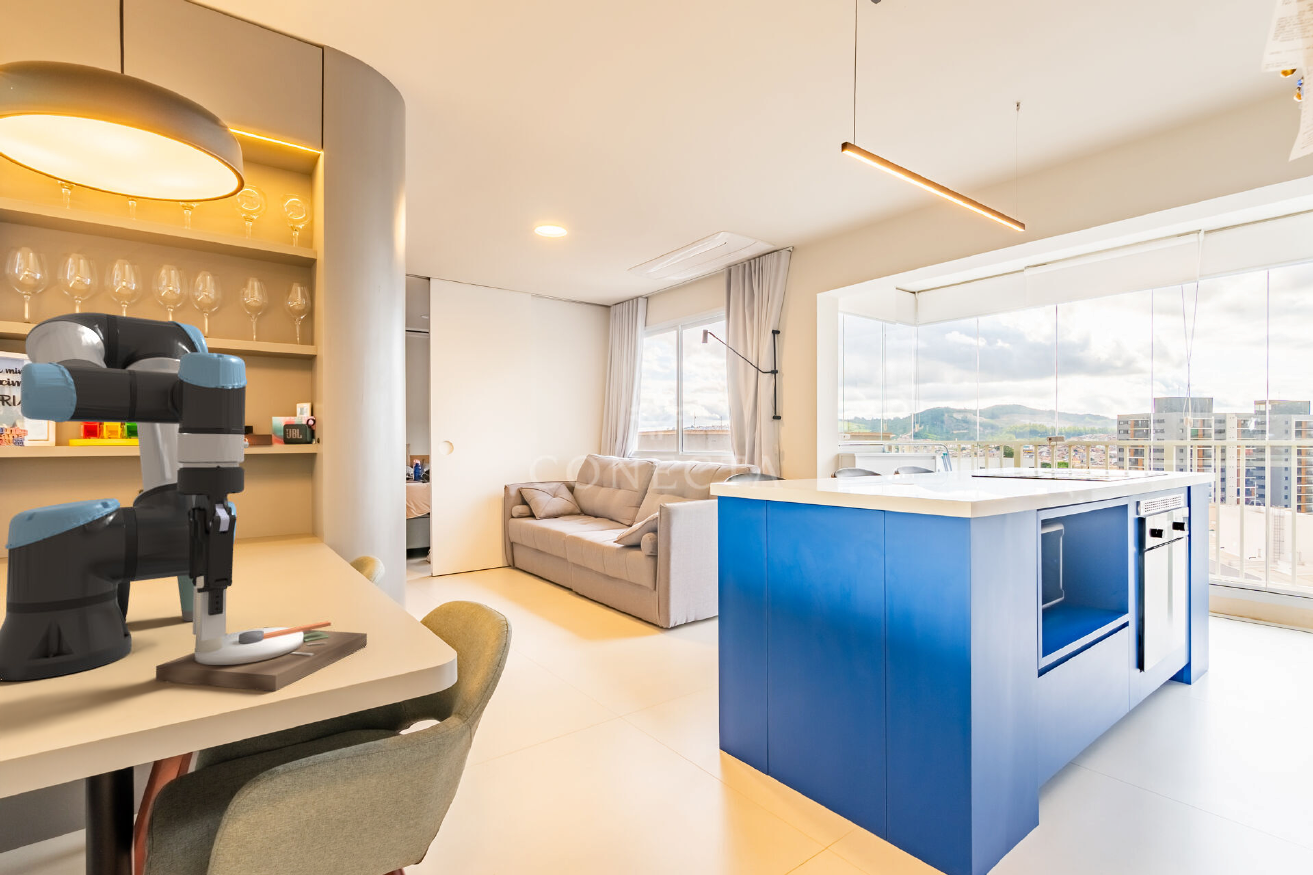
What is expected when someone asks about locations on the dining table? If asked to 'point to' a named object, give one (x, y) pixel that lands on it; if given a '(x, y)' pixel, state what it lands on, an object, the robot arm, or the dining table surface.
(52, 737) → the dining table surface
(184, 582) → the coffee cup
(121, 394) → the robot arm
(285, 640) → the white stand with post
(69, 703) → the dining table surface
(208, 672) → the board
